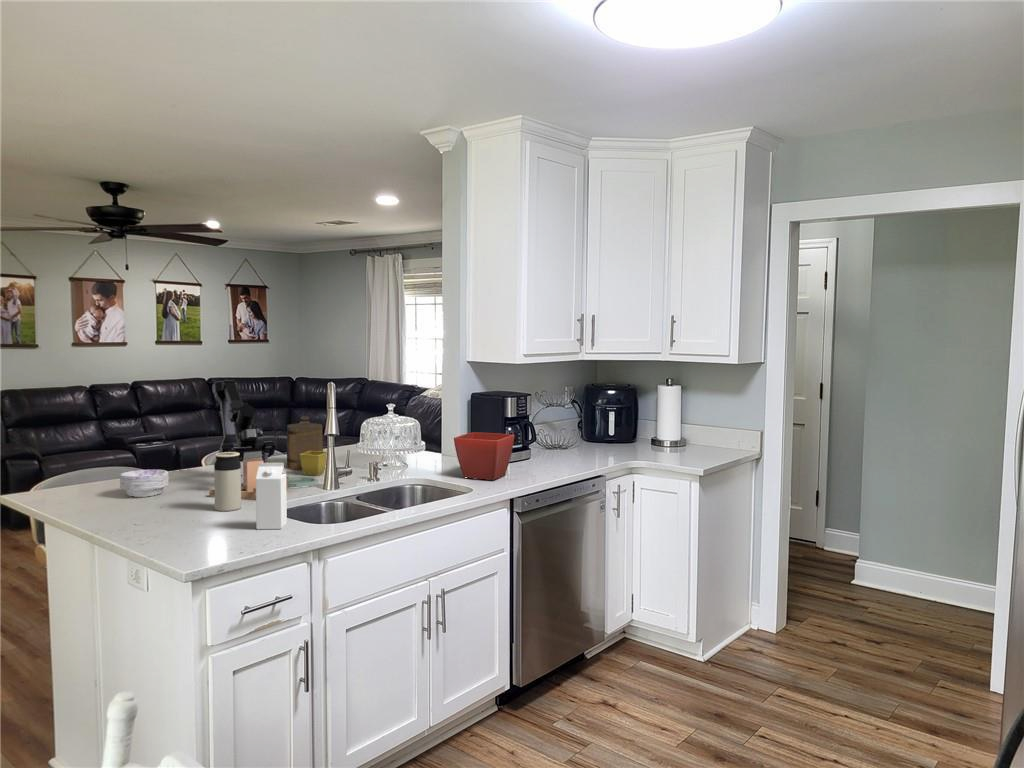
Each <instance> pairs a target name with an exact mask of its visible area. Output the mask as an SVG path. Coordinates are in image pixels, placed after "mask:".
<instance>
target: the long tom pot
mask: <svg viewBox="0 0 1024 768" xmlns="http://www.w3.org/2000/svg"><path fill="white" fill-rule="evenodd" d="M259 463H264V461H263V460H262V459H261V458H259V457H255V458H254V457H253V458H244V459H243V462H242V472H243V473H242V477H243V479H242V481H243V482H242V483H243V487H242V489H244V491H247V492H253V488H256V476H257V472H258V468H259Z"/></svg>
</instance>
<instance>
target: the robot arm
mask: <svg viewBox="0 0 1024 768" xmlns="http://www.w3.org/2000/svg"><path fill="white" fill-rule="evenodd" d="M211 387H212V393H213V395H214V398H215V400H216V401H217V403H218V404H219V406H220V408H219V409H220V416H221V417H220V418H221V425H222V433H223V440H222V442H221V443H220V445H219V446H220V447H219V450H218V453H222V452H238V453H240V455H239V458H238V459H239V461H240V463H243V460H244V459H245V458H244V457H245V454H249V453H261V455H262V456H261V458H262V459H261V460H263V461H264V463H268V459H269V458H270V457H271V456H273V455H274V454H275V450H276V447H277V445H276V442H275V441H274V440H267V441H263V442H262V445H256V444H257V443H258V439H259V438H262V437H263V435H264V433H263V429H262V427H256V428H252V425H253V423H254V419H255V415H256V413H257V412H256V408H254V407H253V406H252V405H250V404H249V403H248V402H244V401H242V397H241V395H240V393H239V390H238V382H237V380H235V379H224V380H219V381H218V380H217V381H215V382H214V383H213V384H212V386H211ZM241 476H242V477H243V474H241Z"/></svg>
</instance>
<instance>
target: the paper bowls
mask: <svg viewBox="0 0 1024 768" xmlns="http://www.w3.org/2000/svg"><path fill="white" fill-rule="evenodd" d="M167 486H169V471H168V470H165V469H139V470H130V471H125V472H122V473H120V474H119V488H120V489H122V490H124V491H125V492H126V493H127V495H128V496H130V497H132V496H134V497H133V498H148V497H147V496H150V497H155V496H158V495H159V494H161V493H162V491H163V490H164V488H165V487H167ZM157 494H158V495H157ZM154 495H155V496H154Z"/></svg>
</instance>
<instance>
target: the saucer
mask: <svg viewBox="0 0 1024 768" xmlns="http://www.w3.org/2000/svg"><path fill="white" fill-rule="evenodd" d="M316 483H318V484H319V479H317V478H316V477H312V476H311V477H310V476H296V477H295V476H294V477H289V487H302V486H312V485H314V484H316ZM312 487H313V486H312Z"/></svg>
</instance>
